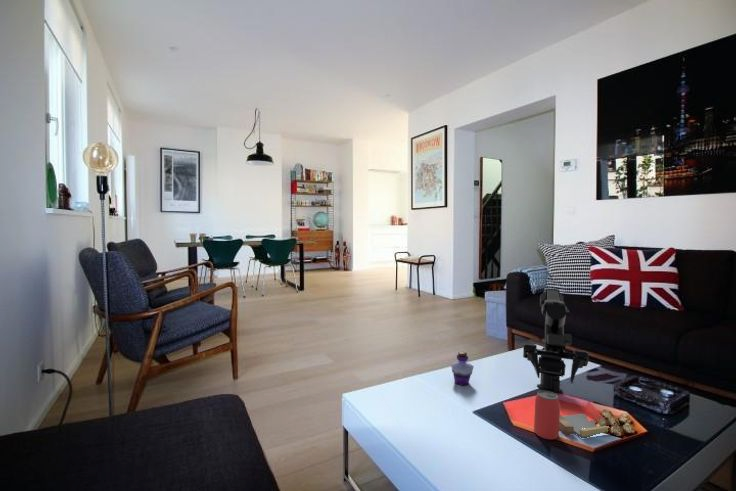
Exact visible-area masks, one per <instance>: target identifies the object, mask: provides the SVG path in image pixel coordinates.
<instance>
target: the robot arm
mask: <svg viewBox="0 0 736 491" xmlns="http://www.w3.org/2000/svg"><path fill="white" fill-rule="evenodd" d="M560 291H561V290H560V289H558V288H550V287H549V288H545V290H544V291H543V292H542V293H541V294H540V296H539V307H541V314H542V315H543V317H544V318H545V321H544V347H542V349H541V348H537V344H533V343H524V344H523V348H522V349H523V352H522V353H523V355H522V357H523V358H524V359H526V360H527V361H529V362H531V365H532V366H533V368H534V371H535V374H536V377H537V378H538V379H540V383H539V384H536V386H537V387H538V388H539V389H542V391H550V392H554V393H562V392H563V389H562V388H560V387H561V379H560V377H561V378H563V377H564V376H565V375H566V366H567V364H566V363H565V360H572V364H571V370H570V371H571V372H570V383H571V384H573V383H574V379H575V376H576V374H577V372H578V370H579V369H583V367H587V366H588V364H589V361H590V355H589V354H590V353H589V352H588V351H587V350H580V349H573V352H572V353H571V352H565V351H566V345H572V343H573V342H572V340H573V339H572V338H573V337H572V336H573V335H572V334H571V333H565V332H564V331H565V329H564V325H565V324H566V318H568V316H570V311H569V309H568V307H567V306H566V305H565V301H564V295H563V294H562V293H561V292H560Z"/></svg>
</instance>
